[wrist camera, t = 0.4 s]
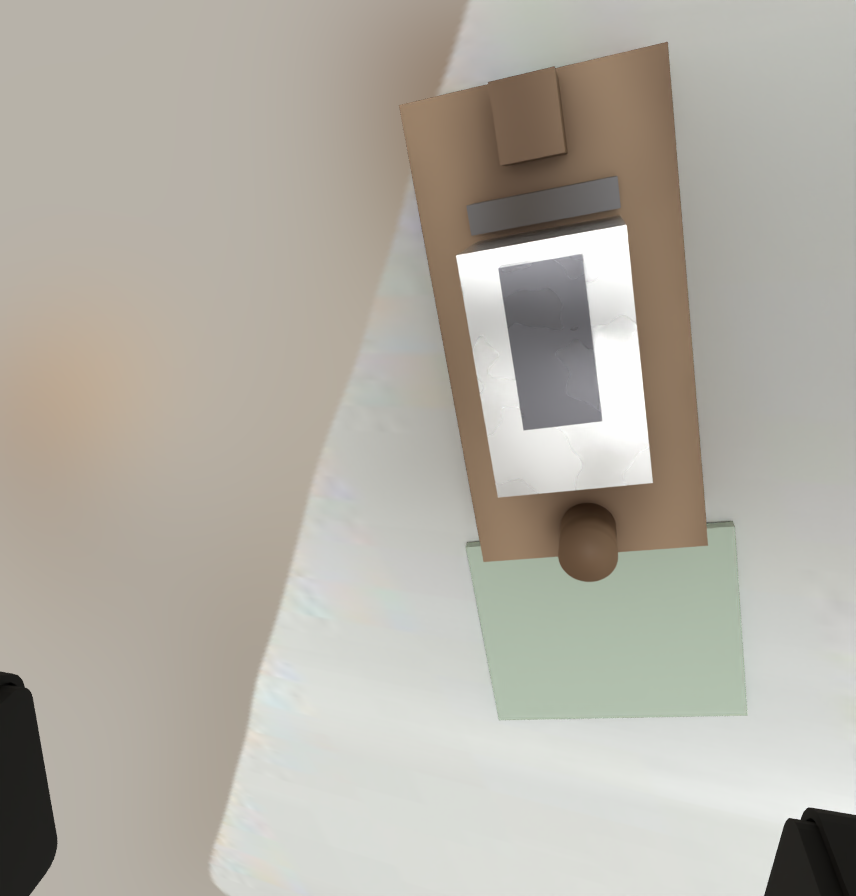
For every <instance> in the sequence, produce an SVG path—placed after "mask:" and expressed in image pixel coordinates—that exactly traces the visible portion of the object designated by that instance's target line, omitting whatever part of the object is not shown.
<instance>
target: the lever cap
mask: <svg viewBox="0 0 856 896" xmlns="http://www.w3.org/2000/svg"><path fill="white" fill-rule="evenodd" d="M456 259H457V264H458V270H459V276H460V282H461V287H462V293H463V299H464V305H465V311H466V316H467V322H468V328H469V334H470V339H471V345H472V351H473V357H474V362H475V368H476V374H477V380H478V386H479V391H480V397H481V403H482V409H483V414H484V420H485V426H486V432H487V438H488V443H489V449H490V455H491V461H492V466H493V472H494V478H495V484H496V489H497V495H498V498H499V497H510V496H520V495H531V494H541V493H552V492H563V491H573V490H584V489H594V488H605V487H616V486H626V485H637V484H647V483H653V479H652V469H651V459H650V450H649V440H648V430H647V420H646V411H645V401H644V391H643V381H642V372H641V362H640V352H639V342H638V333H637V323H636V313H635V304H634V294H633V284H632V274H631V265H630V255H629V245H628V235H627V226H626V223H625V222H624V220H623V219H622V217H621V215H617V216H612V217H606V218H601V219H595V220H590V221H584V222H579V223H573V224H568V225H562V226H557V227H552V228H546V229H541V230H535V231H530V232H524V233H519V234H513V235H508V236H502V237H497V238H491V239H486V240H481V241H478V242H476V243H475V244H473V245H472V246H470V247H469V248H467V249H465V250H464V251H462V252H461V253H459V254H458V255H456Z"/></svg>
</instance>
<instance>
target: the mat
mask: <svg viewBox="0 0 856 896" xmlns="http://www.w3.org/2000/svg"><path fill="white" fill-rule="evenodd" d="M706 525H707V538H708V546H698V547H684V548H670V549H656V550H643V551H629V552H618V562H617V565H616V568H615V569H614V571H613V572H612V573H611V574H610V575H609V576H607V577H606V578H604V579H602V580H599V581H595V582H584V581H579V580H576V579H574V578H572V577H571V576H569V575H568V574H567V573H566V572H565V571H564V570H563V569H562V567H561V565H560V563H559V559H558V557H547V558H533V559H519V560H506V561H492V562H483V556H482V551H481V545H480V542H469V543H467V545H466V551H467V556H468V561H469V567H470V572H471V577H472V582H473V587H474V593H475V598H476V603H477V608H478V613H479V619H480V624H481V629H482V634H483V639H484V645H485V650H486V655H487V660H488V666H489V671H490V676H491V681H492V686H493V692H494V697H495V702H496V707H497V712H498V718H499V720H537V719H590V718H643V717H696V716H747V701H746V687H745V672H744V657H743V642H742V627H741V612H740V598H739V583H738V568H737V553H736V538H735V526H734V523H733V521H731V522H718V523H706Z"/></svg>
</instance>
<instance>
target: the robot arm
mask: <svg viewBox="0 0 856 896" xmlns="http://www.w3.org/2000/svg"><path fill="white" fill-rule="evenodd" d="M56 849H57V834H56V828H55V823H54V817H53V811H52V805H51V800H50V794H49V789H48V783H47V777H46V771H45V765H44V760H43V754H42V748H41V742H40V737H39V731H38V725H37V720H36V714H35V708H34V702H33V697H32V694H31V692H30V691H29V690H28V689H27V688H25V687H24V683H23V681H22V679H21V678H20V677H19V676H18V675H15V674H11V673H5V672H0V896H29V895H30V894H31V893H32V891H33V890H34V889H35V887H36V886H37V885H38V883H39V882H40V881H41V879H42V878H43V876H44V875H45V874H46V872H47V871H48V869H49V868H50V866H51V864H52V862H53V860H54V856H55V853H56ZM764 896H856V815H852V814H846V813H840V812H834V811H828V810H822V809H816V808H807V809H806V810H805V811H804V813H803V815H802V817H801V820H798V819H792V818H789V819H788V820H787V821H786V822H785V825H784V828H783V831H782V835H781V838H780V842H779V845H778V849H777V852H776V856H775V859H774V863H773V867H772V870H771V874H770V877H769V881H768V884H767V888H766V891H765V895H764Z"/></svg>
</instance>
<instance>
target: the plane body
mask: <svg viewBox="0 0 856 896" xmlns="http://www.w3.org/2000/svg"><path fill="white" fill-rule="evenodd" d="M399 108H400V113H401V119H402V124H403V130H404V135H405V140H406V146H407V151H408V157H409V162H410V167H411V173H412V178H413V184H414V189H415V194H416V200H417V205H418V211H419V216H420V221H421V227H422V232H423V238H424V243H425V248H426V254H427V259H428V265H429V270H430V275H431V281H432V286H433V292H434V297H435V302H436V308H437V313H438V319H439V324H440V329H441V335H442V340H443V346H444V351H445V356H446V362H447V367H448V373H449V378H450V383H451V389H452V394H453V400H454V405H455V410H456V416H457V421H458V427H459V432H460V437H461V443H462V448H463V454H464V459H465V464H466V470H467V475H468V481H469V486H470V491H471V497H472V502H473V508H474V513H475V518H476V524H477V529H478V535H479V540H480V545H481V551H482V556H483V562H492V561H506V560H519V559H533V558H547V557H558V559H559V563H560V565H561V567H562V569H563V570H564V571H565V572H566V573H567V574H568V575H569V576H571V577H572V578H574V579H576V580H579V581H584V582H595V581H599V580H602V579H604V578H606V577H607V576H609V575H610V574H611V573H612V572H613V571H614V569H615V568H616V565H617V562H618V552H629V551H643V550H656V549H670V548H684V547H698V546H708V538H707V525H706V513H705V500H704V488H703V475H702V463H701V450H700V438H699V426H698V413H697V401H696V388H695V376H694V363H693V351H692V338H691V326H690V313H689V301H688V288H687V276H686V263H685V251H684V239H683V226H682V214H681V201H680V189H679V176H678V164H677V151H676V139H675V126H674V114H673V101H672V89H671V77H670V64H669V52H668V42H665V43H661V44H656V45H652V46H648V47H644V48H639V49H635V50H631V51H627V52H622V53H618V54H614V55H610V56H606V57H601V58H597V59H593V60H589V61H584V62H580V63H576V64H572V65H567V66H563V67H559V68H555V66H554V67H550V68H546V69H542V70H537V71H533V72H529V73H525V74H521V75H516V76H512V77H508V78H504V79H499V80H495V81H491V82H488V84H487V85H483V86H478V87H474V88H470V89H466V90H461V91H457V92H453V93H449V94H444V95H440V96H436V97H432V98H428V99H424V100H419V101H415V102H411V103H406V104H402V105H399ZM617 215H621V217H622V219H623V220H624V222H625V223H626V226H627V235H628V245H629V255H630V265H631V274H632V284H633V294H634V304H635V313H636V323H637V333H638V342H639V352H640V362H641V372H642V381H643V391H644V401H645V411H646V420H647V430H648V440H649V450H650V459H651V469H652V479H653V483H647V484H637V485H626V486H616V487H605V488H594V489H584V490H573V491H563V492H552V493H541V494H531V495H520V496H510V497H499V498H498V495H497V489H496V484H495V478H494V472H493V466H492V461H491V455H490V449H489V443H488V438H487V432H486V426H485V420H484V414H483V409H482V403H481V397H480V391H479V386H478V380H477V374H476V368H475V362H474V357H473V351H472V345H471V339H470V334H469V328H468V322H467V316H466V311H465V305H464V299H463V293H462V287H461V282H460V276H459V270H458V264H457V259H456V255H458V254H459V253H461V252H462V251H464V250H465V249H467V248H469V247H470V246H472V245H473V244H475V243H476V242H478V241H481V240H486V239H491V238H497V237H502V236H508V235H513V234H519V233H524V232H530V231H535V230H541V229H546V228H552V227H557V226H562V225H568V224H573V223H579V222H584V221H590V220H595V219H601V218H606V217H612V216H617Z"/></svg>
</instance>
